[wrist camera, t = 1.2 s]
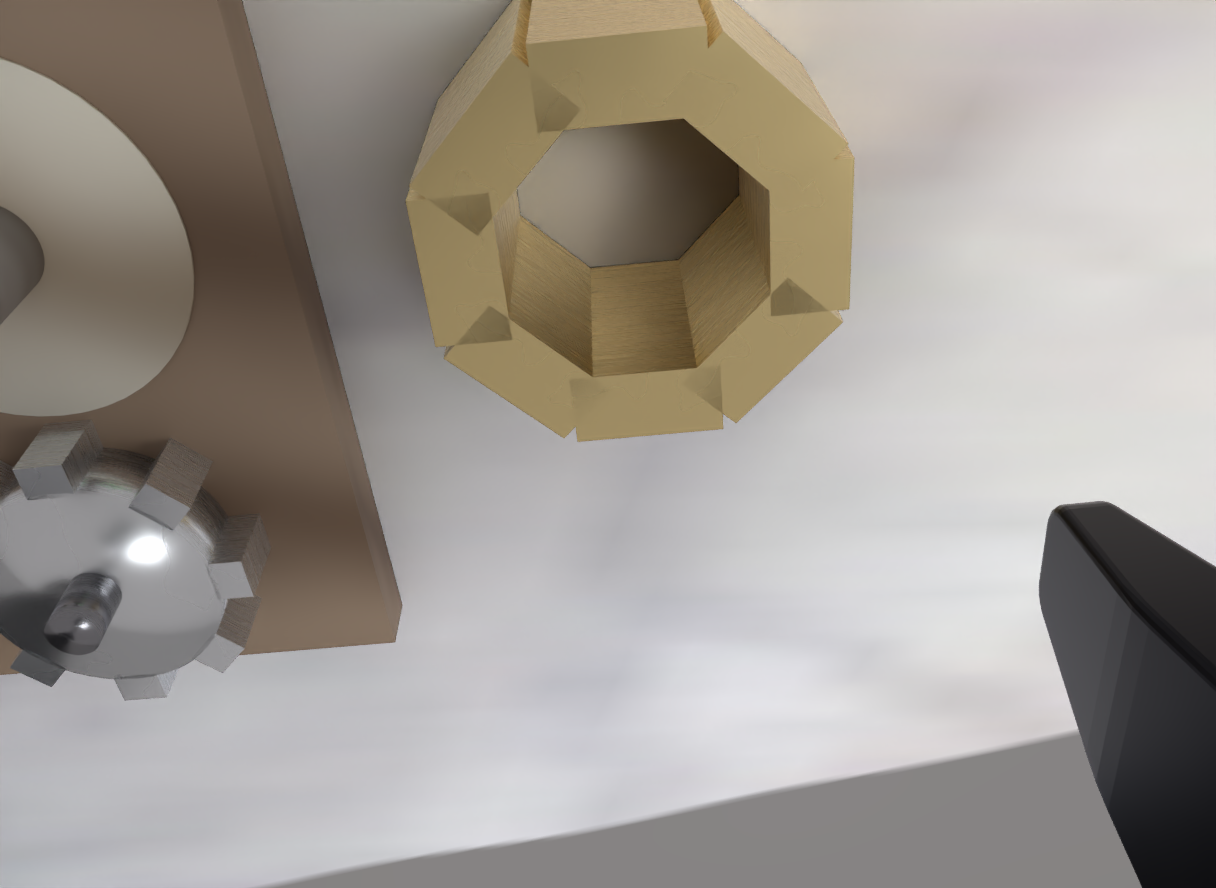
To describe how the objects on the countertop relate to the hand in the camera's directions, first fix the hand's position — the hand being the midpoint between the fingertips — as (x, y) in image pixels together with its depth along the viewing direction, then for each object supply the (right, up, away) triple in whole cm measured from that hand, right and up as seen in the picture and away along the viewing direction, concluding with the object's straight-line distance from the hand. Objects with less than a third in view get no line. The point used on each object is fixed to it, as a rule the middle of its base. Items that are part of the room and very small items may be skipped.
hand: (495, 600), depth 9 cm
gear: (-9, -1, +14) cm, 16 cm away
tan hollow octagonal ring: (+1, +6, +11) cm, 13 cm away
